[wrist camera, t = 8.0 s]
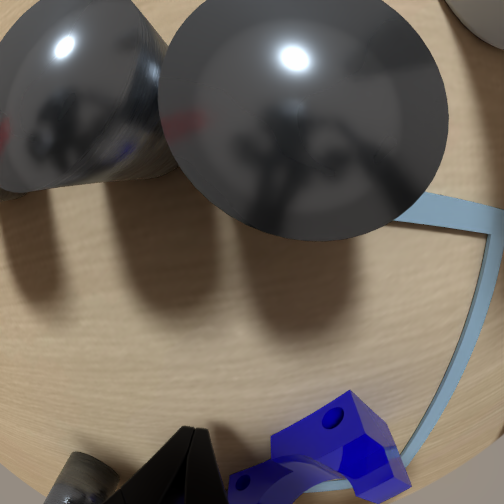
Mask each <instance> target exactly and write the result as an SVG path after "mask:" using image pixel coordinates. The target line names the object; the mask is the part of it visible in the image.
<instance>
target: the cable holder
mask: <svg viewBox="0 0 504 504" xmlns="http://www.w3.org/2000/svg"><path fill="white" fill-rule="evenodd" d="M332 479H347V480H348V481H349V482H350V484H351V485H352V487H353V489H354V491H355V495H356V496H357V497H360V498H362V499H365V500H368V501H371V502H374V503H377V504H380V503H382V502H384V501H386V500H388V499H390V498H392V497H394V496H396V495H398V494H399V493H401V492H403V491H405V490H407V489H409V488H410V487H412V485H411V482H410V480H409V477H408V475H407V472H406V470H405V467H404V465H403V462H402V460H401V457H400V455H399V452H398V450H397V447H396V445H395V442H394V440H393V438H392V435H391V433H390V431H389V428H388V426H387V424H386V423H385V422H384V421H383V420H382V419H381V418H380V417H379V416H378V415H377V414H376V413H374V412H373V411H372V410H371V409H370V408H369V407H368V406H367V405H366V404H365V403H364V402H363V401H361V400H360V399H359V398H358V397H357V396H356V395H355V394H354V393H353V392H352V391H351V390H348V391H347V392H345V393H344V394H342V395H341V396H339V397H338V398H336V399H335V400H333V401H332V402H330V403H328V404H327V405H325V406H324V407H322V408H320V409H319V410H317V411H315V412H314V413H312V414H310V415H309V416H307V417H305V418H303V419H302V420H300V421H298V422H296V423H294V424H293V425H291V426H289V427H287V428H285V429H283V430H281V431H280V432H278V433H276V434H274V435H272V436H271V459H269V460H267V461H265V462H262V463H260V464H258V465H255V466H253V467H250V468H248V469H245V470H242V471H240V472H237V473H234V474H232V475H230V477H229V487H228V497H227V498H228V502H229V504H292V503H293V502H294V501H295V500H296V499H297V498H298V497H299V496H300V495H301V494H303V493H304V492H305V491H307V490H308V489H310V488H311V487H313V486H315V485H317V484H319V483H322V482H325V481H328V480H332Z"/></svg>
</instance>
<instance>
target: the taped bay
mask: <svg viewBox="0 0 504 504" xmlns="http://www.w3.org/2000/svg"><path fill="white" fill-rule="evenodd" d="M394 220H395V221H403V222H411V223H419V224H426V225H433V226H441V227H447V228H454V229H461V230H467V231H474V232H480V233H486V234H488V237H487V242H486V248H485V253H484V258H483V262H482V267H481V271H480V275H479V279H478V283H477V287H476V291H475V294H474V298H473V301H472V304H471V308H470V311H469V314H468V317H467V320H466V323H465V326H464V329H463V332H462V334H461V337H460V340H459V342H458V345H457V348H456V350H455V353H454V355H453V358H452V360H451V362H450V365H449V367H448V369H447V371H446V374H445V376H444V378H443V380H442V382H441V384H440V387H439V389H438V391H437V393H436V395H435V397H434V399H433V401H432V402H431V404H430V406H429V408H428V410H427V412H426V414H425V415H424V417H423V419H422V421H421V422H420V424H419V426H418V428H417V429H416V431H415V433H414V434H413V436H412V438H411V439H410V441H409V442H408V444H407V445H406V447H405V448H404V450H403V452H402V453H401V455H400V457H401V460H402V462H403V465H404V467H405V468H406V467H407V466H408V464H409V463H410V462H411V460H412V459H413V457H414V456H415V455H416V453H417V452H418V450H419V449H420V448H421V446H422V445H423V443H424V442H425V440H426V439H427V437H428V435H429V434H430V432H431V431H432V429H433V428H434V426H435V424H436V423H437V421H438V419H439V418H440V416H441V414H442V413H443V411H444V409H445V407H446V405H447V404H448V402H449V400H450V398H451V396H452V394H453V392H454V390H455V388H456V387H457V385H458V383H459V380H460V378H461V376H462V374H463V372H464V370H465V368H466V366H467V363H468V361H469V359H470V356H471V354H472V352H473V349H474V347H475V344H476V342H477V339H478V337H479V334H480V331H481V329H482V326H483V323H484V320H485V317H486V314H487V311H488V308H489V305H490V302H491V298H492V295H493V291H494V288H495V284H496V280H497V276H498V272H499V268H500V264H501V259H502V254H503V249H504V210H502V209H499V208H495V207H491V206H487V205H483V204H479V203H475V202H470V201H466V200H462V199H457V198H452V197H448V196H443V195H438V194H433V193H428V192H424V193H423V194H422V196H421V197H420V198H419V199H418V200H417V201H416V202H415V203H414V204H413V205H412V206H411V207H410V208H409V209H408V210H406V211H405V212H404V213H403V214H401V215H400V216H399V217H398V218H396V219H394ZM349 488H353V487H352V485H351V484H350V482H349V481H348V480H347V479H345V480H337V481H326V482H322V483H319V484H317V485H315V486H313V487H311V488H310V489H308V490H307V491H305V492H304V493H309V492H323V491H333V490H341V489H349Z"/></svg>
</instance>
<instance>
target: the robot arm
mask: <svg viewBox="0 0 504 504" xmlns="http://www.w3.org/2000/svg"><path fill="white" fill-rule="evenodd" d="M102 504H229V502H228V498H227V495H226V492H225V489H224V485H223V482H222V479H221V475H220V472H219V468H218V465H217V461H216V458H215V454H214V450H213V446H212V443H211V439H210V435H209V431H208V429H205V428H196V429H195V428H194V427H190V426H182V427H181V428H180V429H179V430H178V431H177V432H176V433H175V434H174V435H173V436H172V437H171V438H170V439H169V440H168V441H167V442H166V443H165V444H164V446H163V447H162V448H161V449H160V450H159V451H158V452H157V453H156V454H155V455H154V456H153V457H152V458H151V459H150V460H149V461H148V462H147V463H146V464H145V465H144V466H142V467H141V468H140V469H139V470H138V471H137V472H136V473H135V474H134V475H133V476H132V477H131V478H130V479H129V480H128V481H127V482H126V483H125V484H124V485H123V486H122V487H121V489H118V490H117V491H116V492H115V493H114V494H113V495H112V496H110V497H109V498H108V499H107V500H106V501H104V502H103V503H102Z"/></svg>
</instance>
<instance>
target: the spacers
mask: <svg viewBox="0 0 504 504" xmlns="http://www.w3.org/2000/svg"><path fill="white" fill-rule="evenodd" d="M448 121H449V114H448V103H447V97H446V92H445V88H444V83H443V80H442V77H441V75H440V72H439V69H438V67H437V65H436V62H435V60H434V58H433V57H432V55H431V53H430V51H429V49H428V48H427V46H426V45H425V43H424V42H423V40H422V39H421V37H420V36H419V35H418V34H417V32H416V31H415V30H414V29H413V28H412V26H411V25H410V24H409V23H408V22H407V21H406V20H405V19H404V18H403V17H402V16H401V15H400V14H399V13H397V12H396V11H395V10H394V9H393V8H391V7H390V6H389V5H387V4H386V3H385V2H383V1H382V0H206V1H205V2H204V3H202V4H201V5H200V6H199V7H198V8H197V9H196V10H195V11H194V12H193V13H192V14H191V15H190V16H189V17H188V18H187V19H186V20H185V21H184V23H183V24H182V25H181V27H180V28H179V29H178V31H177V32H176V34H175V36H174V37H173V39H172V41H171V43H170V45H169V47H168V45H167V44H166V43H165V41H164V40H163V39H162V38H161V36H160V35H159V34H158V33H157V31H156V30H155V29H154V28H153V26H152V25H151V24H150V23H149V21H148V20H147V19H146V18H145V17H144V15H143V14H142V13H141V12H140V10H139V9H138V8H137V7H136V6H135V4H134V3H133V2H132V1H131V0H40V1H38V2H37V3H36V4H35V5H33V6H32V7H31V8H30V9H29V10H27V11H26V12H25V13H24V14H23V15H22V16H21V17H20V18H19V19H18V20H17V21H16V23H15V24H14V25H13V26H12V27H11V28H10V30H9V31H8V32H7V33H6V35H5V36H4V38H3V39H2V41H1V42H0V202H1V201H6V200H11V199H16V198H19V197H21V196H23V195H24V194H26V193H27V192H30V191H37V190H43V189H50V188H58V187H65V186H73V185H82V184H91V183H101V182H112V181H123V180H136V179H150V178H155V177H159V176H162V175H165V174H167V173H169V172H171V171H172V170H174V169H175V168H177V167H178V166H180V168H181V170H182V171H183V173H184V174H185V175H186V176H187V178H188V179H189V180H190V181H191V183H192V184H193V185H194V186H195V187H196V188H197V189H198V190H199V191H200V192H201V193H202V194H203V195H204V196H205V197H206V198H207V199H208V200H209V201H210V202H211V203H213V204H214V205H215V206H217V207H218V208H220V209H221V210H222V211H224V212H225V213H226V214H228V215H230V216H231V217H233V218H235V219H237V220H238V221H240V222H242V223H244V224H246V225H248V226H250V227H253V228H255V229H258V230H260V231H263V232H265V233H269V234H272V235H276V236H280V237H284V238H288V239H296V240H303V241H332V240H340V239H348V238H351V237H355V236H359V235H363V234H366V233H368V232H371V231H373V230H376V229H378V228H380V227H383V226H384V225H386V224H388V223H389V222H391V221H393V220H394V219H396V218H398V217H399V216H400V215H401V214H403V213H404V212H405V211H406V210H408V209H409V208H410V207H411V206H412V205H413V204H414V203H415V202H416V201H417V200H418V199H419V198H420V197H421V196H422V194H423V193H424V192H425V190H426V189H427V187H428V186H429V184H430V183H431V182H432V180H433V178H434V176H435V174H436V172H437V170H438V168H439V166H440V163H441V160H442V157H443V154H444V151H445V147H446V141H447V136H448ZM118 483H119V477H118V475H117V474H116V473H115V472H114V471H113V470H112V469H111V468H110V467H108V466H107V465H105V464H104V463H102V462H101V461H99V460H97V459H95V458H93V457H91V456H89V455H87V454H84V453H81V452H72V453H71V455H70V457H69V458H68V460H67V462H66V464H65V465H64V467H63V469H62V471H61V473H60V474H59V476H58V478H57V480H56V481H55V483H54V485H53V487H52V489H51V491H50V492H49V494H48V496H47V498H46V500H45V502H44V504H102V503H103V502H104V501H106V500H107V499H108V498H109V497H110V496H112V495H113V494H114V493H115V490H116V488H117V485H118ZM225 492H226V495H227V497H228V490H226V491H225Z"/></svg>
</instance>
